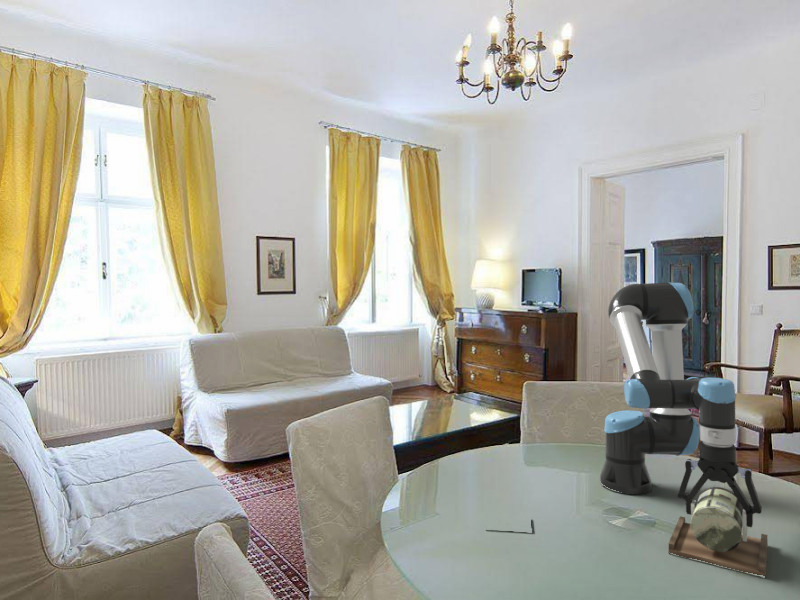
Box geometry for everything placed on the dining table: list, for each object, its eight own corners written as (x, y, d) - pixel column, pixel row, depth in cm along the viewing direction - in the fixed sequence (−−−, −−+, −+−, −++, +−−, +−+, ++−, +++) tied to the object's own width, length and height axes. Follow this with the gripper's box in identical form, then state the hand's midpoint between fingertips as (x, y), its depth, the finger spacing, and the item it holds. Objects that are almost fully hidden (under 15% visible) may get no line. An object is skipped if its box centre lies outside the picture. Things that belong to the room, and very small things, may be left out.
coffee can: (717, 560, 120) (723, 535, 131) (752, 536, 115) (755, 512, 126) (679, 523, 124) (688, 502, 135) (712, 498, 120) (718, 478, 131)
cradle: (765, 578, 113) (765, 566, 113) (668, 553, 124) (668, 543, 124) (767, 545, 126) (767, 534, 126) (680, 525, 138) (680, 516, 138)
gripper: (663, 439, 129) (664, 527, 130) (774, 455, 116) (775, 552, 116) (668, 432, 135) (670, 515, 136) (775, 446, 122) (776, 538, 122)
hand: (718, 533), depth 126 cm, fingers closed on coffee can, 10 cm apart
